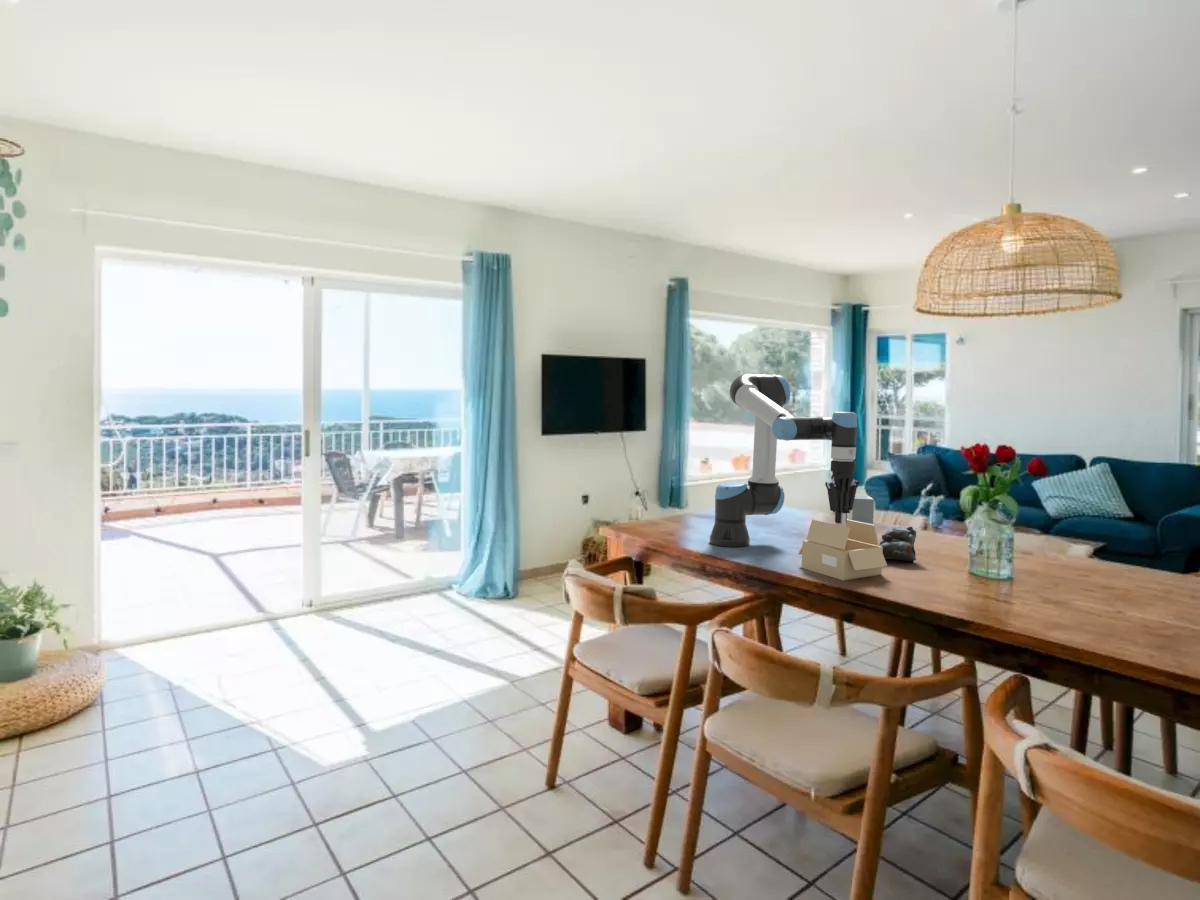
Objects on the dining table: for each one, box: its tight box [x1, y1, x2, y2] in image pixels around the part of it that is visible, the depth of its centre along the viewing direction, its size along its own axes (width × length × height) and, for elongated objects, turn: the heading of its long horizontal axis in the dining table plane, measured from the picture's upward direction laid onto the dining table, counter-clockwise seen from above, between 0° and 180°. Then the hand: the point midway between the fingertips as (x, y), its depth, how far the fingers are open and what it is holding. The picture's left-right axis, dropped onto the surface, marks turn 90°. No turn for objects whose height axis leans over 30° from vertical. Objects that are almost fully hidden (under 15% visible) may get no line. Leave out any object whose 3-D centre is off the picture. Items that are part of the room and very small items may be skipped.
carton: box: [798, 539, 888, 582], centre depth 229 cm, size 24×17×9 cm
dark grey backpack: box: [878, 526, 917, 563], centre depth 246 cm, size 15×12×14 cm
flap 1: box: [806, 519, 850, 550], centre depth 225 cm, size 16×7×1 cm
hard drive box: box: [847, 493, 875, 544], centre depth 263 cm, size 16×8×20 cm, turn 168°
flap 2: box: [846, 519, 880, 546], centre depth 231 cm, size 16×7×1 cm
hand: (840, 532), depth 228 cm, fingers closed
